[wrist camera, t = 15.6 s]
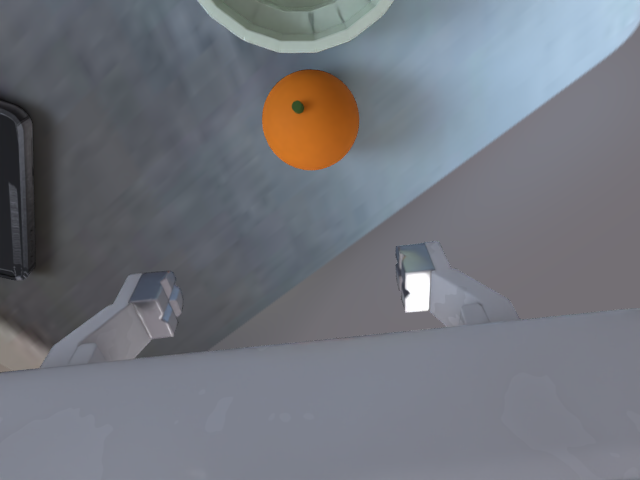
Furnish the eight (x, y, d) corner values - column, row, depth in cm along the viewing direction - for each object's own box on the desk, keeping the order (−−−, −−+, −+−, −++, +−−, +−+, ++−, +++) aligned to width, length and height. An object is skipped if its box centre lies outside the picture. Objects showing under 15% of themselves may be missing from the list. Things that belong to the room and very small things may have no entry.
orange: (263, 122, 30) (224, 94, 24) (332, 70, 29) (312, 26, 23) (307, 192, 30) (281, 183, 23) (380, 142, 28) (373, 118, 22)
